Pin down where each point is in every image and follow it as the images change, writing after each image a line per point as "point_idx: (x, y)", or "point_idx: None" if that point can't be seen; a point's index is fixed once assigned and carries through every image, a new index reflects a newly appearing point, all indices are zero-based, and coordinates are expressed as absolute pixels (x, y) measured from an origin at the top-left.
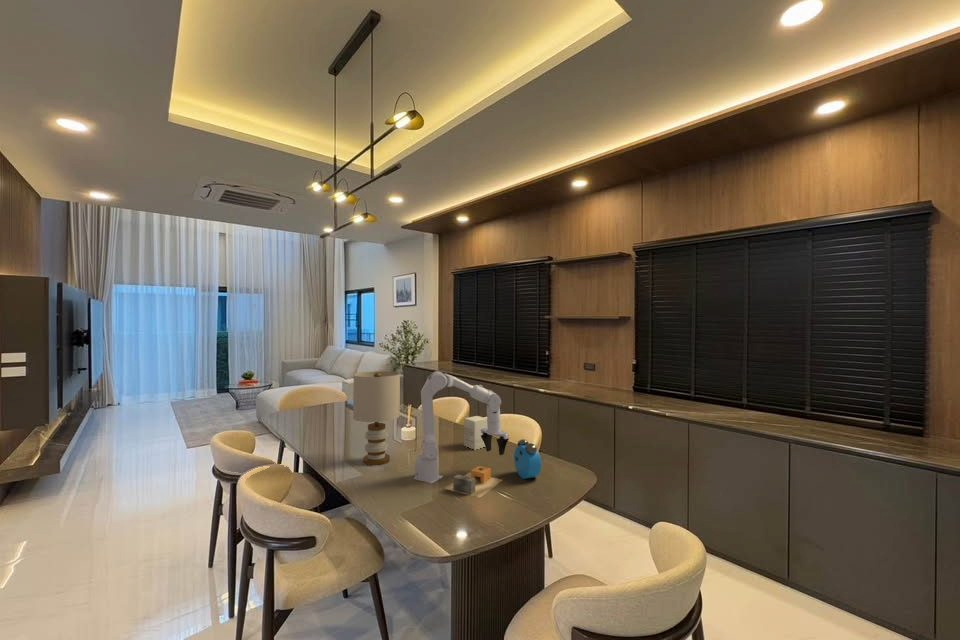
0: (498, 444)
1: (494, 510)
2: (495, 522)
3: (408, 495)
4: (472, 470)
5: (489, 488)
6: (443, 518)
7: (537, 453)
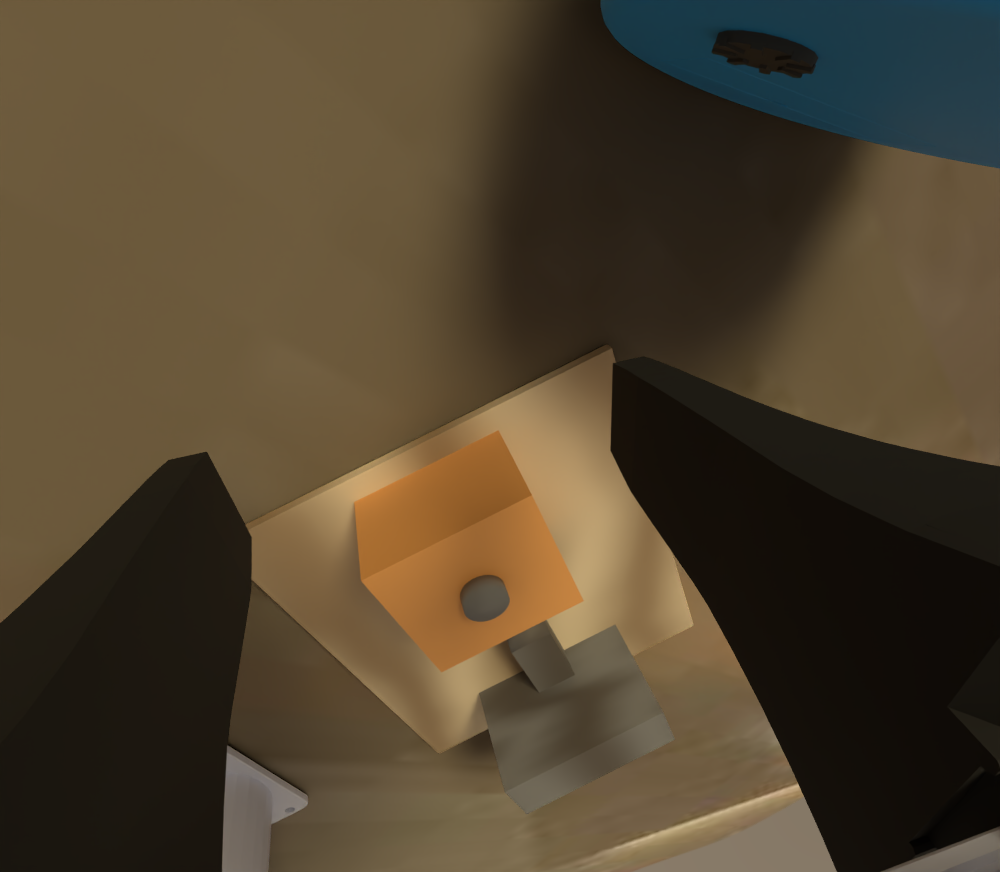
0: (770, 685)
1: None
2: None
3: (396, 866)
4: (449, 662)
5: (650, 532)
6: (691, 768)
7: None
